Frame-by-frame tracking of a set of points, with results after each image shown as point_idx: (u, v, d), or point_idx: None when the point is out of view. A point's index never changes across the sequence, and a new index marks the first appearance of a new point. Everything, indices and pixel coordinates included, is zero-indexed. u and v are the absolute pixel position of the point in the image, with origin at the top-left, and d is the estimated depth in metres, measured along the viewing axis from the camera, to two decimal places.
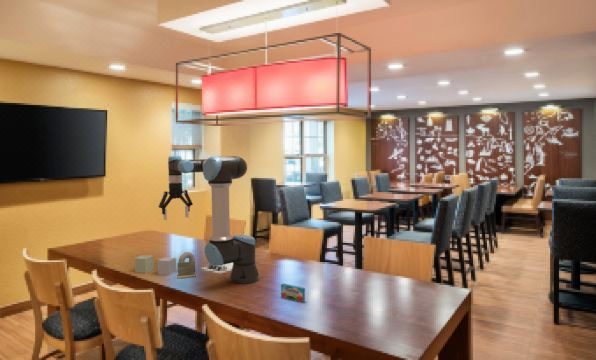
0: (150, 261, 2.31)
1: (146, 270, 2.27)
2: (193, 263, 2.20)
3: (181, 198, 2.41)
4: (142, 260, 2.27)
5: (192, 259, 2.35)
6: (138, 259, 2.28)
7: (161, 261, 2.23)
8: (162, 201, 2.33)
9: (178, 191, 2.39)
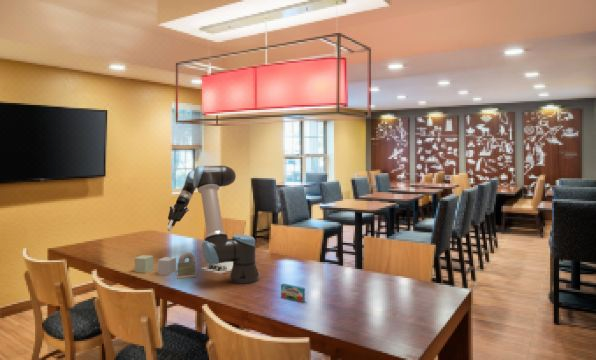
0: (150, 261, 2.31)
1: (146, 270, 2.27)
2: (193, 263, 2.20)
3: (178, 211, 2.54)
4: (142, 260, 2.27)
5: (192, 259, 2.35)
6: (138, 259, 2.28)
7: (161, 261, 2.23)
8: None
9: (183, 203, 2.57)
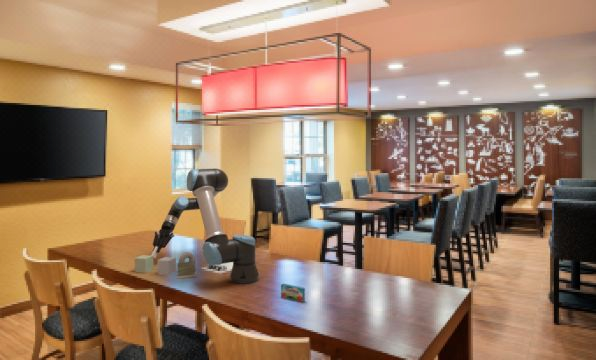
0: (150, 261, 2.31)
1: (146, 270, 2.27)
2: (193, 263, 2.20)
3: (163, 236, 2.47)
4: (142, 260, 2.27)
5: (192, 259, 2.35)
6: (138, 259, 2.28)
7: (161, 261, 2.23)
8: None
9: (168, 228, 2.50)
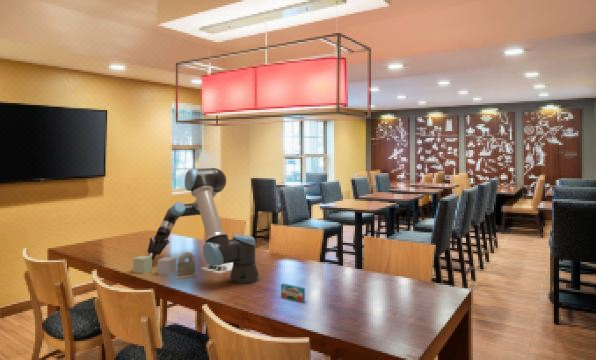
0: (148, 262, 2.30)
1: (144, 271, 2.26)
2: (193, 263, 2.20)
3: (158, 243, 2.42)
4: (140, 260, 2.26)
5: (192, 259, 2.35)
6: (136, 259, 2.27)
7: (161, 261, 2.23)
8: None
9: (163, 234, 2.45)
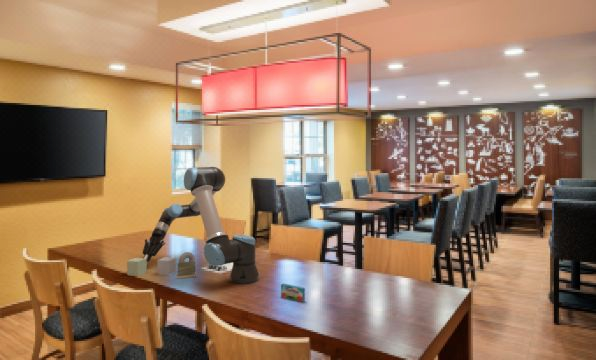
0: (142, 264, 2.25)
1: (138, 273, 2.21)
2: (193, 263, 2.20)
3: None
4: (134, 263, 2.21)
5: (192, 259, 2.35)
6: (130, 262, 2.22)
7: (161, 261, 2.23)
8: None
9: (159, 236, 2.41)
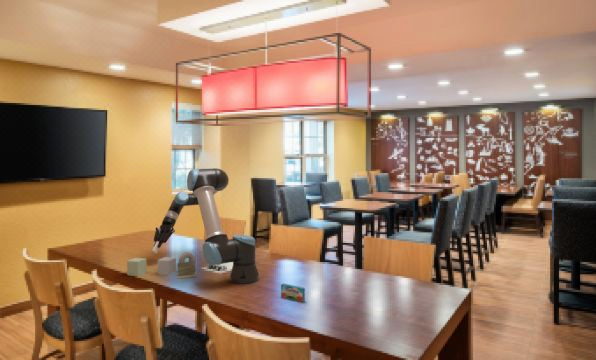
0: (143, 264, 2.25)
1: (138, 273, 2.21)
2: (193, 263, 2.20)
3: None
4: (134, 263, 2.21)
5: (192, 259, 2.35)
6: (130, 262, 2.22)
7: (161, 261, 2.23)
8: None
9: (169, 224, 2.51)
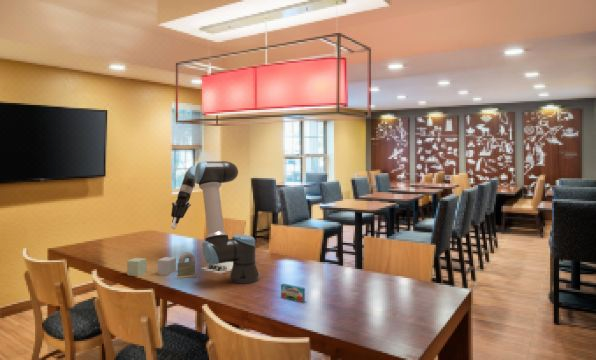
0: (142, 264, 2.25)
1: (138, 273, 2.21)
2: (193, 263, 2.20)
3: (180, 207, 2.52)
4: (134, 263, 2.21)
5: (192, 259, 2.35)
6: (130, 262, 2.22)
7: (161, 261, 2.23)
8: None
9: (184, 198, 2.54)
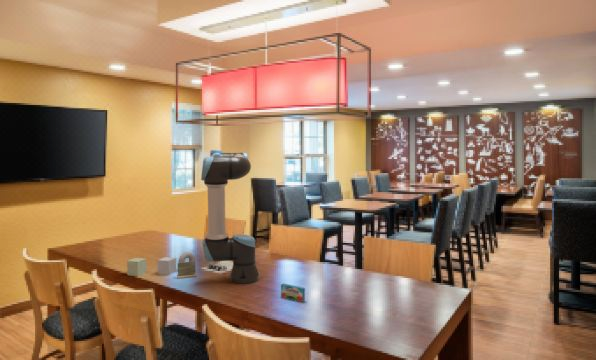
0: (142, 264, 2.25)
1: (138, 273, 2.21)
2: (193, 263, 2.20)
3: None
4: (134, 263, 2.21)
5: (192, 259, 2.35)
6: (130, 262, 2.22)
7: (161, 261, 2.23)
8: None
9: None
